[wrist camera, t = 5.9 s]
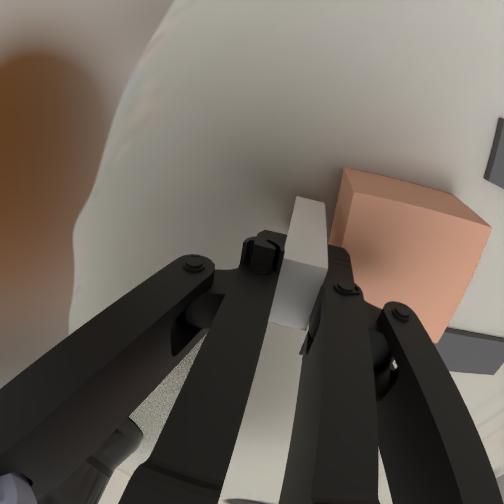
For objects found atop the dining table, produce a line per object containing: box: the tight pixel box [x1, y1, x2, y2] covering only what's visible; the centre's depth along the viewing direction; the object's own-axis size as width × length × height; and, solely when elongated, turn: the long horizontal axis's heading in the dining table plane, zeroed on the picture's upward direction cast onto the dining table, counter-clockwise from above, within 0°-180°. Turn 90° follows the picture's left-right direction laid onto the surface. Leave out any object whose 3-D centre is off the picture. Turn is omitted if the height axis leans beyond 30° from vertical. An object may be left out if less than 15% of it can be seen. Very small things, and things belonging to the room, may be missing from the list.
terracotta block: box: [328, 167, 492, 343], centre depth 14 cm, size 7×7×5 cm
